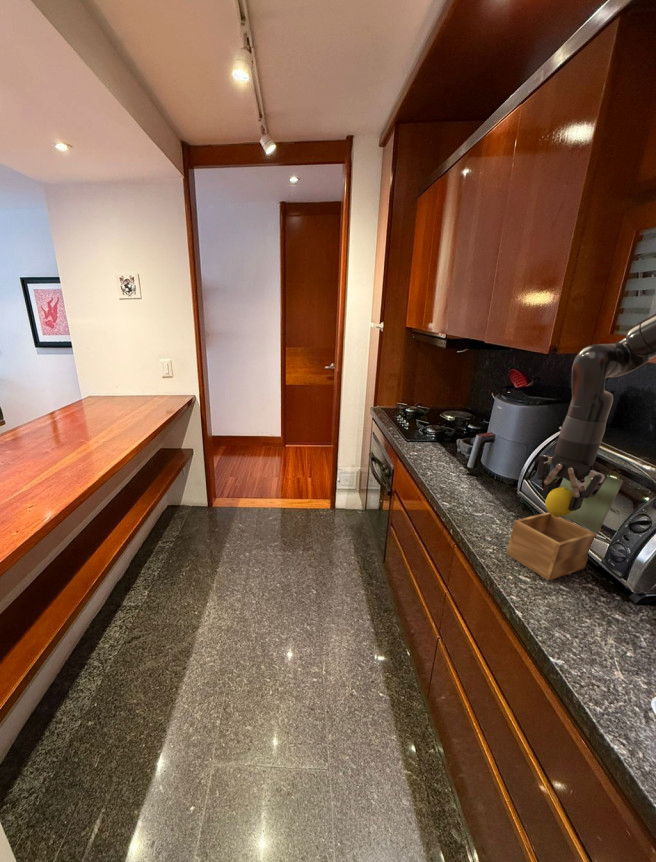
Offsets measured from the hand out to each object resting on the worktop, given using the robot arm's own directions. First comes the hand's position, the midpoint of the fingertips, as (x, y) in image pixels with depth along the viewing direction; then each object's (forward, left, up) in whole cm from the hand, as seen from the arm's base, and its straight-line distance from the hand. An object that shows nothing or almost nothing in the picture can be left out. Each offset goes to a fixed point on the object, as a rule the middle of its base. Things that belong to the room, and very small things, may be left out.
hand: (559, 503), depth 92 cm
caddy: (0, -1, -17) cm, 17 cm away
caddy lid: (-4, -7, 0) cm, 8 cm away
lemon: (0, 0, -4) cm, 4 cm away
